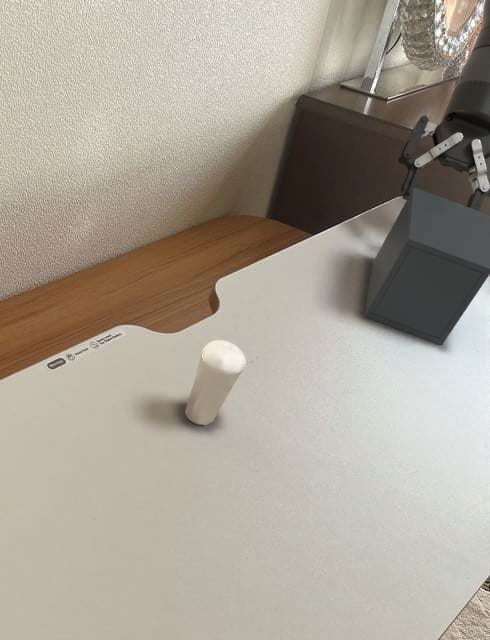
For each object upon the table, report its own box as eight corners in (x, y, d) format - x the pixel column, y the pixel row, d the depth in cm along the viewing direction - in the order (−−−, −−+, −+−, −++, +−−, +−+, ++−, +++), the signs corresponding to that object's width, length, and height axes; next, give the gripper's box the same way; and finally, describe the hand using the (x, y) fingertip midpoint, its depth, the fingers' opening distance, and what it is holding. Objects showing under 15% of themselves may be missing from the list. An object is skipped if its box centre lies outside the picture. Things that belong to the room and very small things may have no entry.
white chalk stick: (214, 440, 93) (247, 368, 85) (171, 414, 94) (201, 341, 86) (232, 419, 96) (267, 347, 88) (190, 394, 97) (221, 321, 89)
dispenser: (372, 263, 123) (413, 186, 114) (444, 290, 122) (491, 215, 114) (364, 316, 114) (408, 238, 105) (441, 345, 114) (493, 269, 105)
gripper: (443, 62, 116) (395, 181, 117) (545, 100, 116) (496, 219, 117) (424, 87, 123) (379, 199, 125) (520, 123, 123) (474, 235, 125)
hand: (436, 209), depth 121 cm, fingers open, 8 cm apart
